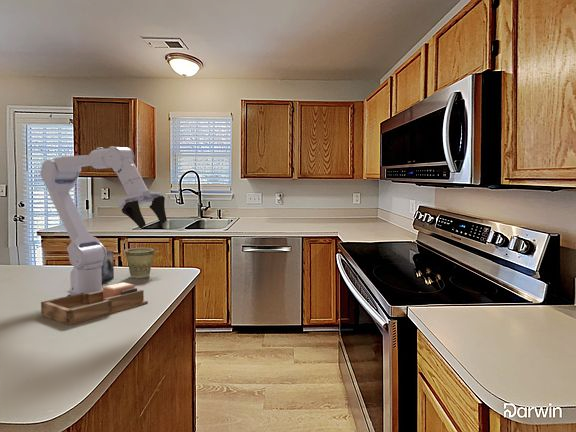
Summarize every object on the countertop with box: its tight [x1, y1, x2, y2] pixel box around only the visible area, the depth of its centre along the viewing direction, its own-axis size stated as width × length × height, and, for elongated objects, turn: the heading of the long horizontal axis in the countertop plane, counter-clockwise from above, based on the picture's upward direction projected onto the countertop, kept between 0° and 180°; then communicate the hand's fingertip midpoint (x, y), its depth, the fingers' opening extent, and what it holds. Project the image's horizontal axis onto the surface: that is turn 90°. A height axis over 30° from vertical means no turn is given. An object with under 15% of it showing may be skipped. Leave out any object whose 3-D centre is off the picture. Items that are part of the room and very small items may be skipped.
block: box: [102, 281, 135, 300], centre depth 130 cm, size 5×7×5 cm
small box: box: [101, 249, 115, 284], centre depth 156 cm, size 11×6×10 cm, turn 168°
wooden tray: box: [40, 287, 149, 326], centre depth 125 cm, size 13×24×4 cm, turn 146°
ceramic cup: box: [125, 247, 162, 279], centre depth 165 cm, size 13×10×10 cm
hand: (154, 224), depth 126 cm, fingers open, 7 cm apart
